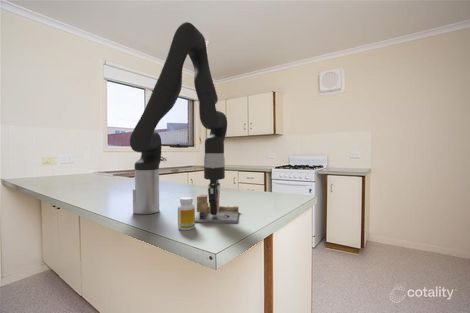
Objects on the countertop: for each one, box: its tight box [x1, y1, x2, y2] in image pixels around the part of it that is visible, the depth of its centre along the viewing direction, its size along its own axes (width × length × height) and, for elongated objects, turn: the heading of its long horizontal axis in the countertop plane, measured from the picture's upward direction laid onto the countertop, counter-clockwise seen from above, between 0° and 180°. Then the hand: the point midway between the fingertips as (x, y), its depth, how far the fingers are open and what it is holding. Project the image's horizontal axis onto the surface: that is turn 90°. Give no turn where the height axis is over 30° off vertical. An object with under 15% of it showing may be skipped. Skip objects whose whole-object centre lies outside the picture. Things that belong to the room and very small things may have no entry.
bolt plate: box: [195, 211, 239, 224], centre depth 87 cm, size 15×11×1 cm
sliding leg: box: [208, 195, 220, 215], centre depth 86 cm, size 3×4×7 cm
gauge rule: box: [196, 194, 239, 216], centre depth 89 cm, size 15×11×8 cm
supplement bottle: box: [177, 196, 196, 231], centre depth 76 cm, size 5×5×10 cm
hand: (214, 212), depth 86 cm, fingers closed on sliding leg, 3 cm apart
